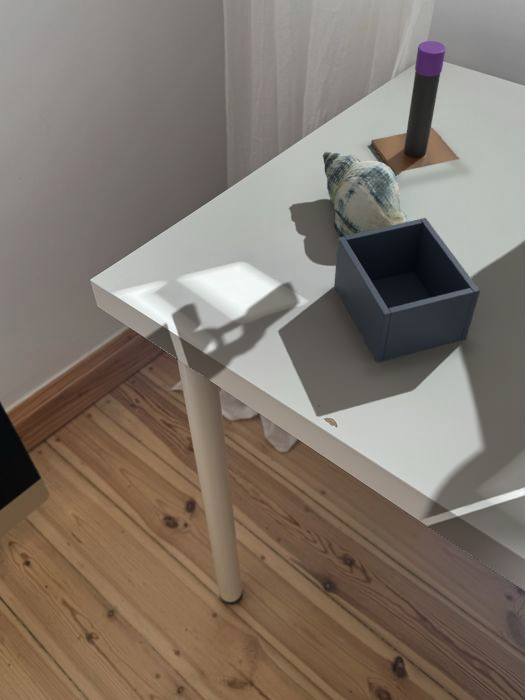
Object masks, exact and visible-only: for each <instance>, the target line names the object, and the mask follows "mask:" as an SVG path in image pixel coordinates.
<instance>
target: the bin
mask: <svg viewBox="0 0 525 700" xmlns="http://www.w3.org/2000/svg"><path fill="white" fill-rule="evenodd" d="M408 221H409V220H408ZM335 258H336V259H335V272H334V284H333V286H334V289H335V291H336V293H337V294H338V296H339V298H340V300H341V301H342V303H343V305H344V307H345V308H346V310H347V312H348V314H349V315H350V317H351V319H352V321H353V322H354V325H355V326H356V328H357V330H358V331H359V333H360V335H361V337H362V339H363V341H364V343H365V344H366V346H367V348H368V350H369V351H370V353H371V355H372V357H373V359H374V361H375V362H376V363H377V364H379V363H382V362H385V361H390V360H393V359H397V358H401V357H404V356H408V355H412V354H416V353H420V352H424V351H427V350H431V349H435V348H438V347H442V346H446V345H450V344H453V343H454V344H455V343H457V342H461V341H465V340H467V339H468V335H469V331H470V328H471V324H472V321H473V317H474V314H475V310H476V308H477V307H476V306H477V303H478V299H479V296H480V292H481V290H480V288H479V287H478V286H477V284H476V283H475V282H474V280H473V279H472V277H471V276H470V275H469V273H468V272H467V271H466V269H464V266H463V265H462V264H461V263H460V262H459V260H458V259H457V258H456V256H455V255H454V254H453V252H452V251H451V250H450V248H449V247H448V245H447V244H446V242H445V241H444V240H443V239H442V238H441V236H440V235H439V233H438V232H437V230H435V228H434V226H433V225H432V224H431V223H430V222H429V220H428V219H427V217H422V218H419V219H415V220H410V221H409V222H405V223H400V224H396V225H392V226H387V227H383V228H378V229H374V230H370V231H365V232H361V233H356V234H352V235H347V236H343V237H340V236H339V237H337V246H336V257H335Z"/></svg>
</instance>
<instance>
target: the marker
mask: <svg viewBox="0 0 525 700" xmlns="http://www.w3.org/2000/svg"><path fill="white" fill-rule="evenodd" d="M446 49H447V48H446V46H445V45H444V43H442V42H439V41H435V40H427V41H422V42H420V43H419V44H418V46H417V50H416V51H417V52H416V59H415V65H414V70H415V71H414V72H415V73H414V78H413V85H412V93H411V99H410V105H409V113H408V119H407V120H408V121H407V127H406V132H405V133H406V139H405V146H404V152H405V154H406V155H408V156H410V157H413V158H419V157H423V156H424V155H425V154H426V153H427V147H428V141H429V135H430V130H431V128H432V124H433V119H434V112H435V106H436V101H437V95H438V89H439V83H440V78H441V73H442V71H443V66H444V62H445V61H444V60H445V55H446Z"/></svg>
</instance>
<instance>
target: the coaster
mask: <svg viewBox="0 0 525 700" xmlns="http://www.w3.org/2000/svg"><path fill="white" fill-rule="evenodd" d="M406 133H407V132H404V133H400V134H394V135H390V136H384V137H379V138H375V139H371V143H370V144H371V145H372V147H373V148H374V150H375V151H376V152H377V153H378V155H379V156H380V157H381V159H382V160H383V161H384V164H385V165H387V166H388V167H390V168H391V169H392V171H393V173H394V174H395V173H400V172H405V171H410V170H414V169H420V168H425V167H429V166H433V165H438V164H442V163H448V162H451V161H458V160H460V157H459V156H457V154H456V153H455V151H453V149H451V147H450V146H449V145H448V144H447V142H446V141H445V140H444V139H443V138H442V137H441V136H440V134H439V133H438V132H437V131H436V130H435V129H434V127H431V130H430V135H429V141H428V147H427V153H426V154H425V155H424V156H423V157H419V158H413V157H410V156H408V155H406V154H405V152H404V146H405V139H406Z"/></svg>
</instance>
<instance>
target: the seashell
mask: <svg viewBox="0 0 525 700" xmlns="http://www.w3.org/2000/svg"><path fill="white" fill-rule="evenodd" d="M322 159H323V164H324V174H325V176H326V188H327V192H328V196H329V199H330V200H331V202H332V203H333V204H334V205H333V210H334V218H335V219H334V221H333V225H334V228H335V230H336V233H337V234H338V236H339V237H343V236H347V235H352V234H356V233H361V232H365V231H370V230H374V229H378V228H383V227H387V226H392V225H396V224H400V223H405V222H409V219H408V217H407V215H406V213H405V212H404V211H403V210H402V208H401V195H400V188H399V182H398V179H397V177H396V174H395V173H393V171H392V169H391V168H390V167H388V165H387V164H386V163H385V162H384V163H383V162H381V161H376V160H360V159H359V158H357V157H355V156H354V155H351V154H341V153H338V152H330V151H325V152H323V154H322Z"/></svg>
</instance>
